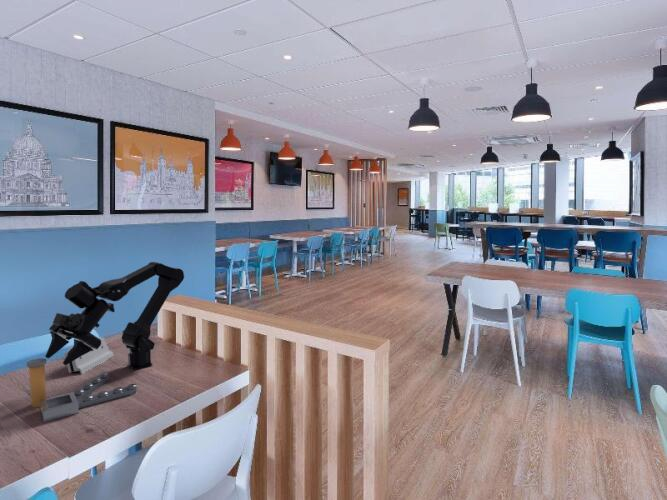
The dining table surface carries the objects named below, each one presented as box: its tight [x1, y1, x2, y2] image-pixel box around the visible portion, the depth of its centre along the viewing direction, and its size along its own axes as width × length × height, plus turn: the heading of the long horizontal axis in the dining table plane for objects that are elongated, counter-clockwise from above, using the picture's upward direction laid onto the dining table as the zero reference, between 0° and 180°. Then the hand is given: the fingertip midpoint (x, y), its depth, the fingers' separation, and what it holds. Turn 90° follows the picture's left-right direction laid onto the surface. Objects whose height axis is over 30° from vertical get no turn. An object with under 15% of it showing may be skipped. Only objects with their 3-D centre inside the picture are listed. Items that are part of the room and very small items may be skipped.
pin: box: [26, 357, 47, 408], centre depth 118 cm, size 5×5×13 cm
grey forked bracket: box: [39, 371, 138, 423], centre depth 125 cm, size 24×19×3 cm
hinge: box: [64, 336, 115, 375], centre depth 147 cm, size 17×5×10 cm, turn 171°
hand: (55, 360), depth 121 cm, fingers open, 9 cm apart
